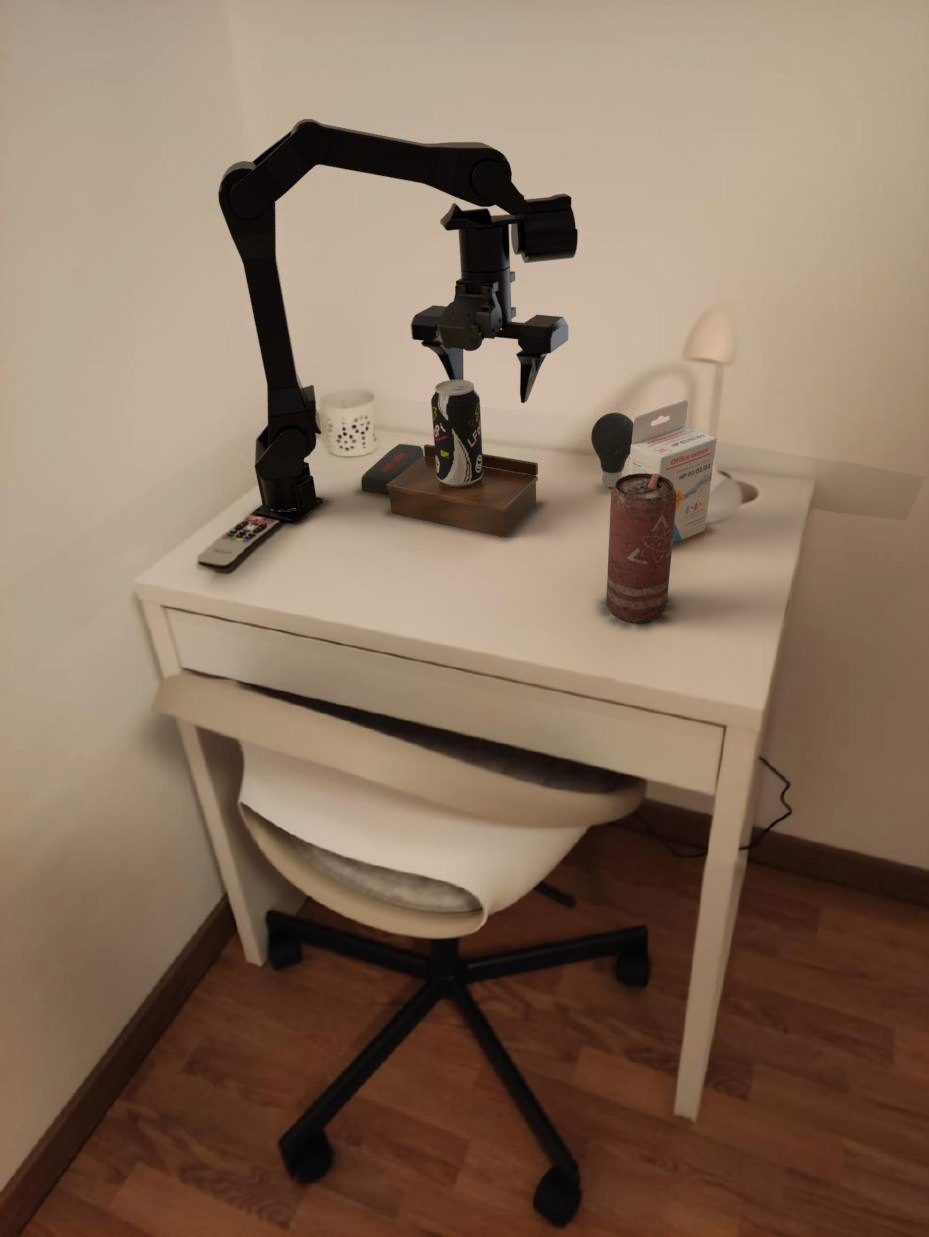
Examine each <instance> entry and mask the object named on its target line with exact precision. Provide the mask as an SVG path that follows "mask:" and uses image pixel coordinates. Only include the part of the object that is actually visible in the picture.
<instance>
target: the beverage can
mask: <svg viewBox="0 0 929 1237" xmlns="http://www.w3.org/2000/svg"><path fill="white" fill-rule="evenodd" d="M434 390H435V392H434V393H433V395H432V396H431V399H430V406H431V407H430V408H431V418H432V420H431V421H432V431H433V432H432V433H433V445H434V446H435V458H436V471H437V478H438V479H439V480H440V481H441V482H443V483H445V484H447V485H449V486H452V487H465V486H469V485H472V484H474V483H475V482H476V481H478V480H479V479H480V478H481V477H482V476H483V467H484V466H483V457H482V454H483V439H482V436H483V435H482V420H481V419H482V417H481V415H482V414H481V399H480V394H479V393H478V392H477V391H476V390H475V385H474V383H473V382H472V381H470V380H467V379H466V380H465V379H463V380H449V379H447V380H444V381H441V382H439V383H437V384H436V385H435V387H434Z"/></svg>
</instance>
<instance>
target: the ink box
mask: <svg viewBox="0 0 929 1237" xmlns="http://www.w3.org/2000/svg"><path fill="white" fill-rule="evenodd" d="M688 405H689V402H688V400H687V399H684V400H682V401H678V402H676V403H673V404H669V405H667V406H666V405H665V406H663V407H660V408H657V409H654V410H651V411H648V412H645V413H642V414H640V415H636V416H635V417H634V419H633V423H634V425H633V435H632V444H631V451H630V455H629V468H628V475H630V474H637V473H648V474H660V476H663V477H665V478H667V479H669V480H670V481H671V482H672V483H673V486H674V489H675V491H676V495H677V500H676V511H675V522H674V532H673V543H672V544H675V543H678V542H680V541H682V540H685V539H687V538H690V537H692V536H695V535H698V534H700V533H702V532H704V531H705V530H706V525H707V518H708V508H709V501H710V494H711V493H710V492H711V484H712V478H713V477H712V476H713V470H714V468H713V467H714V459H715V453H716V445H717V437H714V436H712V435H710V434H707V433H704V432H702V431H700V430H697V429H695V428H693V427H690V426H688V425H687V424H686V422H687V416H688V415H687V414H688V408H689V406H688ZM660 417H663V418H665V417H666V418H667V417H669V418H668V420H666V421H663V422H659V423H657V424H654V425H652V423H653V422H654V421H657V420H658V419H659V418H660Z"/></svg>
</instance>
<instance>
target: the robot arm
mask: <svg viewBox="0 0 929 1237" xmlns="http://www.w3.org/2000/svg"><path fill="white" fill-rule="evenodd" d="M316 166H324V167H330V168H337V169H341V170H346V171H353V172H357V173H364V174H368V175H373V176H379V177H385V178H391V179H394V180H395V179H396V180H402V181H407V182H412V183H416V184H417V183H418V184H422V185H426V186H428V187H431V188H434V189H436V190H438V191H440V192H443V193H444V194H447V195H448V196H451V197H453V198H457V199H459V200H462V201H463V202H466V203H469V204H472V205H474V206H477V207H479V208H475V209H462V208H460V206H459V205H458V204H457V203H455V202H454V203H452V204H451V206H450V208H449V210H448V211H447V212H446V214H445V215H444V216H443V217H441V218H440V220H439V223H440V225H441V227H443V228H444V229H445V231H447V232H449V231H458V245H459V246H458V248H459V259H460V260H459V263H460V277H461V278H458V279H456V280H455V286H454V298H453V301H451V302H449V304H448V305H447V306H446V305H445V306H444V305H436V304H435V305H430V306H429V307H427V308H426V309H423V310H421V311H419V312H418V313H416V314H415V315H414V316H413V317H412V320H411V322H410V332H411V339H412V340H414V341H421V342H420V344H421V346H422V347H424V348H428V349H429V350H431V351H432V352H434V353H435V354H436V355H437V357H438V359H439V360H440V363H441V364H442V367H443V368H444V370H445V374H446V375H447V377H448V380H464V351H466V352H473V351H477V350H479V348H481V346H482V345H483V341H484V339H489V340H494V339H495V338H499V339H500V338H501V339H508V340H509V339H510V340H517V346H519V348H521V350H520V351H519V352H517V353H516V354H515V355H516V358H517V360H518V362H519V366H520V370H519V373H520V374H519V396H520V403H521V404H525V403H527V402H528V401H529V397H530V396H531V393H532V389H533V388H534V384H535V382H536V379H537V376H538V375H539V371H540V370H541V367H542V364H543V363H544V361H545V359H546V357H547V355H549V354H552V353H553V352H554V351H557V349H558V348H560V347H561V346H562V345H564V344H565V343H566V342H568V341H569V325H568V323H567V321H566V320H565V317H564V316H557V315H548V314H546V315H545V314H535V315H534V316H532V317H531V318H529V319H527V320H526V321H525V322H521V321H512V320H513V319H514V318H515V317H517V307H515V306H512V286H511V284H512V283H513V282H515V281H516V271H514V270H511V251H510V247H512V251H513V253H514V255H515V256H516V255H517V256H518V255H521V259H522V261H523V262H524V264H528V263H529V264H530V263H537V262H538V263H539V262H548V261H556V260H557V261H559V260H567V259H574V258H575V256H576V253H577V248H578V240H579V234H578V233H579V231H578V229H577V226H576V219H575V214H574V210H573V208H572V197H571V195H569V194H567V193H558V194H554V195H551V196H546V197H537V198H526V199H525V195H524V194H523V193H521V192H520V191H519V189H518V188H517V187H516V185H515V183H513V181H512V179H513V178H512V177H513V172H512V167H511V164H510V162H509V160H508V158H507V157H506V156H505V154H503V152H501V151H500V150H498V149H496V148H494V147H493V146H490V145H489V144H486V143H484V142H481V141H450V142H449V141H448V142H435V143H433V142H432V143H431V142H430V143H427V142H425V143H423V142H418V141H412V140H409V139H403V138H397V137H392V136H388V135H382V134H377V133H371V132H367V131H360V130H356V129H351V128H346V127H340V126H336V125H331V124H325V123H321V122H319V121H317V120H315V119H313V118H304V119H301V120H298V121H297V122H296V124H294V125H293V126H292V129H291V130H289V132H287V133H286V134H285V135H284V136H283V137H281V138H280V139H278V140H277V141H275V143H273V144H272V145H270V146H269V147H268V148H267V149H266V150H264V151H263V152H262V153H260V154H259V155H258V156H257V157H256V158H255V159H254V160H252V161H247V160H242V161H238V162H235V163H233V164H231V165H230V166H229V167H228V168H227V169H226V171H225V172H224V174H223V175H222V177H221V181H220V185H219V187H218V193H217V194H218V197H217V198H218V204H219V207H220V210H221V213H222V215H223V218H224V221H225V223H226V226H227V229H228V230H229V231H228V232H229V233H230V237H231V239H232V242H233V244H234V246H235V248H236V250H237V252H238V254H239V257H240V259H241V262H242V265H243V269H244V274H245V279H246V284H247V285H246V286H247V290H248V294H249V300H250V303H251V304H250V306H251V310H252V315H253V320H254V325H255V330H256V336H257V340H258V346H259V350H260V351H259V352H260V355H261V360H262V361H261V362H262V365H263V370H264V376H265V381H266V391H267V393H266V394H267V397H266V398H267V425H266V426H265V427H264V429H263V430H262V431H261V432H260V433H259V435H258V436H257V437H256V439H255V450H254V452H255V454H254V470H255V475H256V479H257V486H258V490H259V496H260V500H261V504H262V505H260V506H258V507H257V508H256V509H254V514H255V515H256V516H260V517H266V518H270V519H274V520H279V521H282V522H288V523H292V524H293V523H297V522H299V520H301V519H302V518H304V517H305V516H306V515H308V514H310V513H311V512H313V510H314V509H316V508H318V507H319V506H321V505H322V504H323V503H324V498H323V497H320V496H317V492H316V486H315V479H314V476H313V475H312V474H311V470H310V469H311V468H310V464H309V462H307V461H305V459H306V458H307V457H309V456H310V455H311V454H312V452H313V451H314V450H315V449H316V446H317V435H322V427H321V420H320V412H319V411H318V410H317V400H316V391H315V385H314V384H310V385H307V386H303V384H302V382H301V379H300V377H299V375H298V372H297V366H296V361H295V356H294V355H295V354H294V350H293V349H294V348H293V343H292V337H291V333H290V326H289V321H288V316H287V310H286V304H285V299H284V293H283V287H282V281H281V277H280V270H279V266H278V259H277V235H276V234H277V230H276V226H277V224H276V222H277V221H276V202H277V201H278V200H280V199H281V198H282V197H283V196H285V195H286V194H287V193H288V192H289V191H290V190H291V189H292V188H293V187H294V186H296V184H297V183H298V182H299V181H301V180H302V179H303V178H304V177H305V176H306V175H307V174H308V173H309V172H310V171H311V170H312V169H314V168H315V167H316ZM494 206H496V207H498V208H499V209H501V210H502V211H504V212H506V214H498V215H492V214H491V212H490V210H489V209H488V208H491V207H494ZM480 207H481V208H480ZM507 213H508V214H507ZM510 239H511V240H510ZM510 241H511V246H510ZM266 506H267V507H268V508H269V509H273V510H275V509H276V510H281V509H291V508H296V509H297V511H291V512H274V511H271V510H269V509H268V508H267V507H266Z"/></svg>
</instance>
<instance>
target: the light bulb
mask: <svg viewBox="0 0 929 1237" xmlns="http://www.w3.org/2000/svg"><path fill="white" fill-rule="evenodd" d="M633 425H634V421H632V419H631V418H630V417H629V416H627V415H626V414H624V413H620V412H609V413H605V414H604V415H602V416H601V417H600V418H599V419H598V420H596V421H595V424H594V425H593V427H592V429H591V433H590V434H591V435H590V439H591V444H592V447H593V450H594V452H595V454H596V455H597V457H598V458H599V462H600V468H601V470H602V476H601V477H602V478H601V480H602V484H603V486H604V487H607V489H608V490H613V488H614V487H615V483H616V482H617V480H619V479H620V478H622V477H623V472H624V468H625V465H626V462H627V459H628V457H630V451H631V444H632V435H633Z"/></svg>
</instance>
